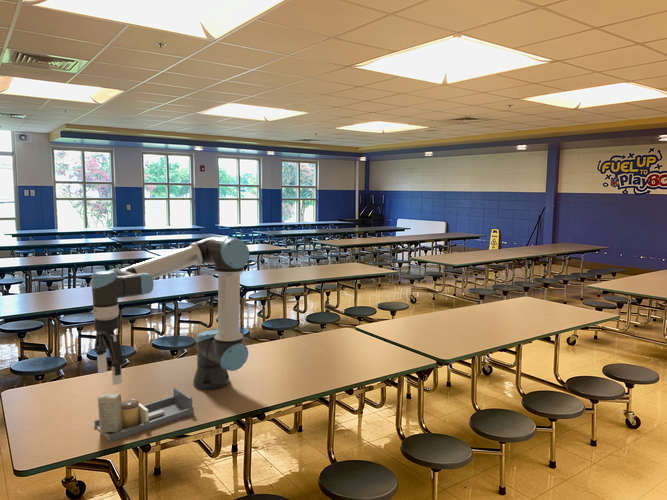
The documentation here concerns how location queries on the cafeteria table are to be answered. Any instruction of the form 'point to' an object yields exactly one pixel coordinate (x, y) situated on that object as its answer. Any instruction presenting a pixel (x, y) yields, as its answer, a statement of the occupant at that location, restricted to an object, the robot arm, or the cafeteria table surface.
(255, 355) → the cafeteria table surface
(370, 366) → the cafeteria table surface
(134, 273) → the robot arm
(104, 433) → the lane
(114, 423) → the skincare box
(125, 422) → the jar
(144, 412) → the pusher
